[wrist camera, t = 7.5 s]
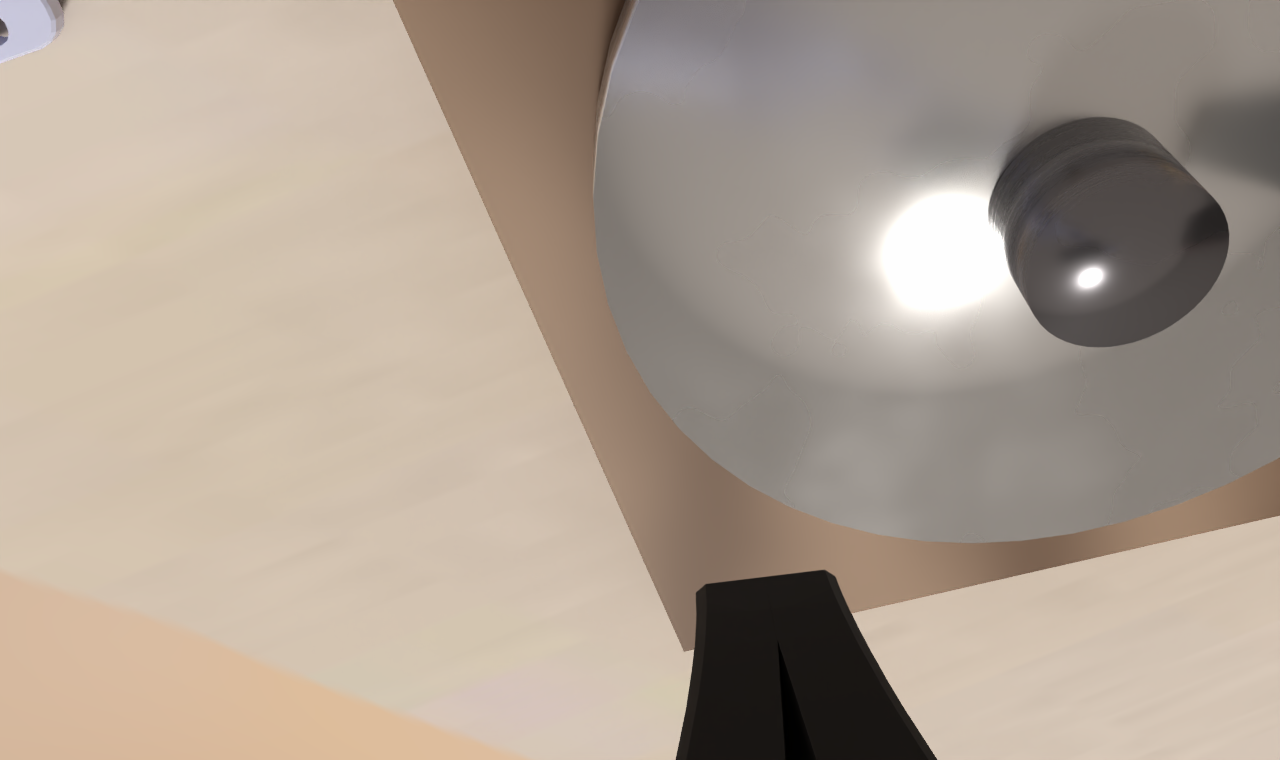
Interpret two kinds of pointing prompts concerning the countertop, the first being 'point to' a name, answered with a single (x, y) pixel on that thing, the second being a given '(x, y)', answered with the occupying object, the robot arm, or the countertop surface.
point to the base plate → (606, 376)
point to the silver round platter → (951, 251)
